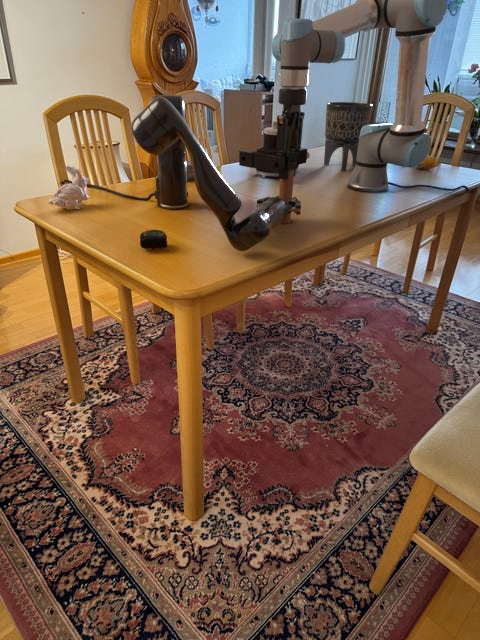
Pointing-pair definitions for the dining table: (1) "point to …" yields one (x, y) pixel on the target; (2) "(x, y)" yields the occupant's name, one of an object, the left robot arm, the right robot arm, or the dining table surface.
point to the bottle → (287, 191)
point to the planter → (345, 128)
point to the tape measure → (153, 239)
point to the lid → (292, 164)
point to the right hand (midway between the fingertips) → (286, 177)
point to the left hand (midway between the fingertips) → (287, 199)
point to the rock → (189, 171)
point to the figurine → (71, 191)
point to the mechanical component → (268, 155)
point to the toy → (429, 163)
